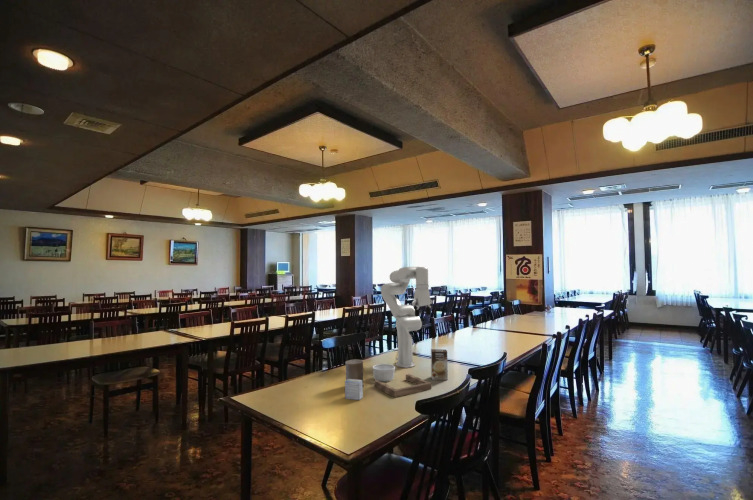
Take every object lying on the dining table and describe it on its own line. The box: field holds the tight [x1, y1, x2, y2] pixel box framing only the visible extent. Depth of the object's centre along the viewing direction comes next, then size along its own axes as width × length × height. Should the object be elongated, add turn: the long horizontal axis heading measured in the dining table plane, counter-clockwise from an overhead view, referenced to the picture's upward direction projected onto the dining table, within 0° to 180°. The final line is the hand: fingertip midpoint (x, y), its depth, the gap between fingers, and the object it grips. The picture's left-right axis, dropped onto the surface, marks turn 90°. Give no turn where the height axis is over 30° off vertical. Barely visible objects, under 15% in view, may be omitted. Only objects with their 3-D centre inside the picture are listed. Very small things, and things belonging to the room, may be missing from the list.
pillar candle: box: [344, 358, 365, 388], centre depth 194 cm, size 10×10×15 cm
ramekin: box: [372, 363, 396, 383], centre depth 208 cm, size 13×13×7 cm
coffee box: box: [430, 348, 449, 381], centre depth 207 cm, size 9×6×16 cm
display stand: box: [373, 373, 432, 398], centre depth 192 cm, size 20×23×3 cm
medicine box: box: [344, 379, 364, 401], centre depth 177 cm, size 8×4×9 cm, turn 71°
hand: (422, 315), depth 217 cm, fingers open, 9 cm apart
